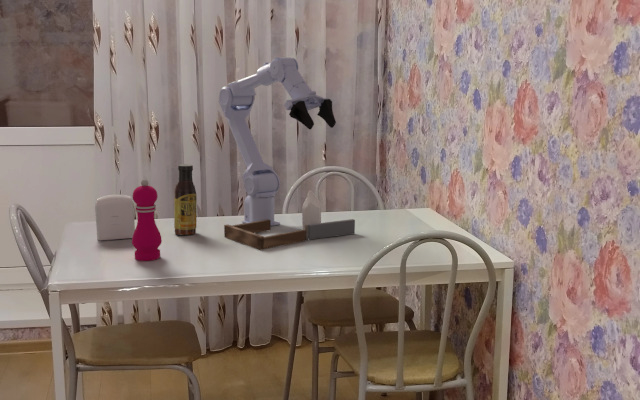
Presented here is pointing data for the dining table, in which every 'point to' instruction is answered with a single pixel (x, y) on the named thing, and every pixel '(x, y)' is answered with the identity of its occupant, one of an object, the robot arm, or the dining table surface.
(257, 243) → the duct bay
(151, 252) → the pepper mill
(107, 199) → the photo printer
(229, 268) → the dining table surface
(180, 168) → the sauce bottle
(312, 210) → the beige pointed upright block
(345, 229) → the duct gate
